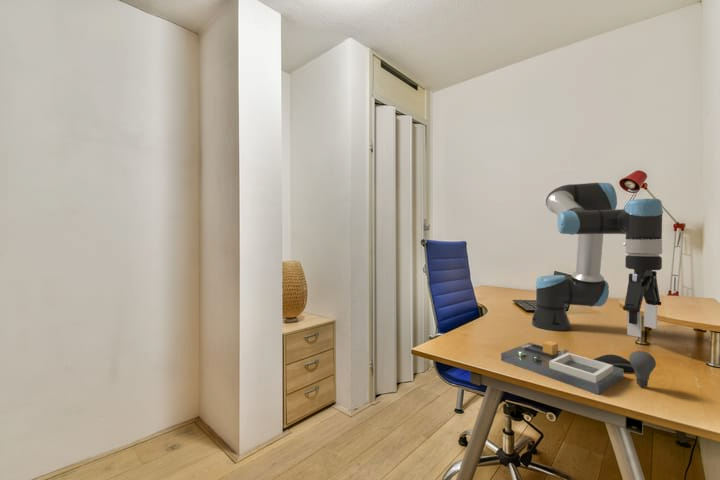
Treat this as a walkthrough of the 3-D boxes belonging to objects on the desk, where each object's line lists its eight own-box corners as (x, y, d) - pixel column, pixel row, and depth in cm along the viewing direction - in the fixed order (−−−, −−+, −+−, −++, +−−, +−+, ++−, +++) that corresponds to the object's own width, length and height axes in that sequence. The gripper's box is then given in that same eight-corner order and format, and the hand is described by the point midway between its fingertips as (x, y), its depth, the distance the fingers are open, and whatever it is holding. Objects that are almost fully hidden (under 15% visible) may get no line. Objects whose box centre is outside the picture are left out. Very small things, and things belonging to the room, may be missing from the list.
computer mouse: (584, 362, 105) (584, 351, 105) (625, 365, 104) (625, 352, 103) (596, 372, 98) (596, 359, 98) (640, 374, 97) (641, 361, 97)
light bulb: (658, 388, 87) (658, 352, 87) (651, 393, 84) (651, 356, 84) (633, 380, 92) (633, 346, 92) (625, 385, 89) (625, 350, 89)
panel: (529, 349, 117) (529, 337, 117) (623, 377, 94) (623, 362, 94) (501, 360, 107) (501, 347, 107) (598, 394, 84) (598, 378, 84)
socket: (567, 358, 102) (567, 352, 102) (613, 372, 92) (613, 365, 92) (549, 367, 95) (549, 361, 95) (595, 383, 85) (595, 375, 85)
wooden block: (548, 350, 109) (548, 340, 109) (558, 353, 106) (558, 343, 106) (542, 353, 107) (542, 342, 107) (552, 356, 104) (552, 345, 104)
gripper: (640, 252, 98) (640, 321, 98) (609, 256, 84) (608, 335, 84) (674, 253, 91) (673, 327, 92) (646, 257, 77) (645, 343, 78)
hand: (642, 331), depth 88 cm, fingers open, 13 cm apart
